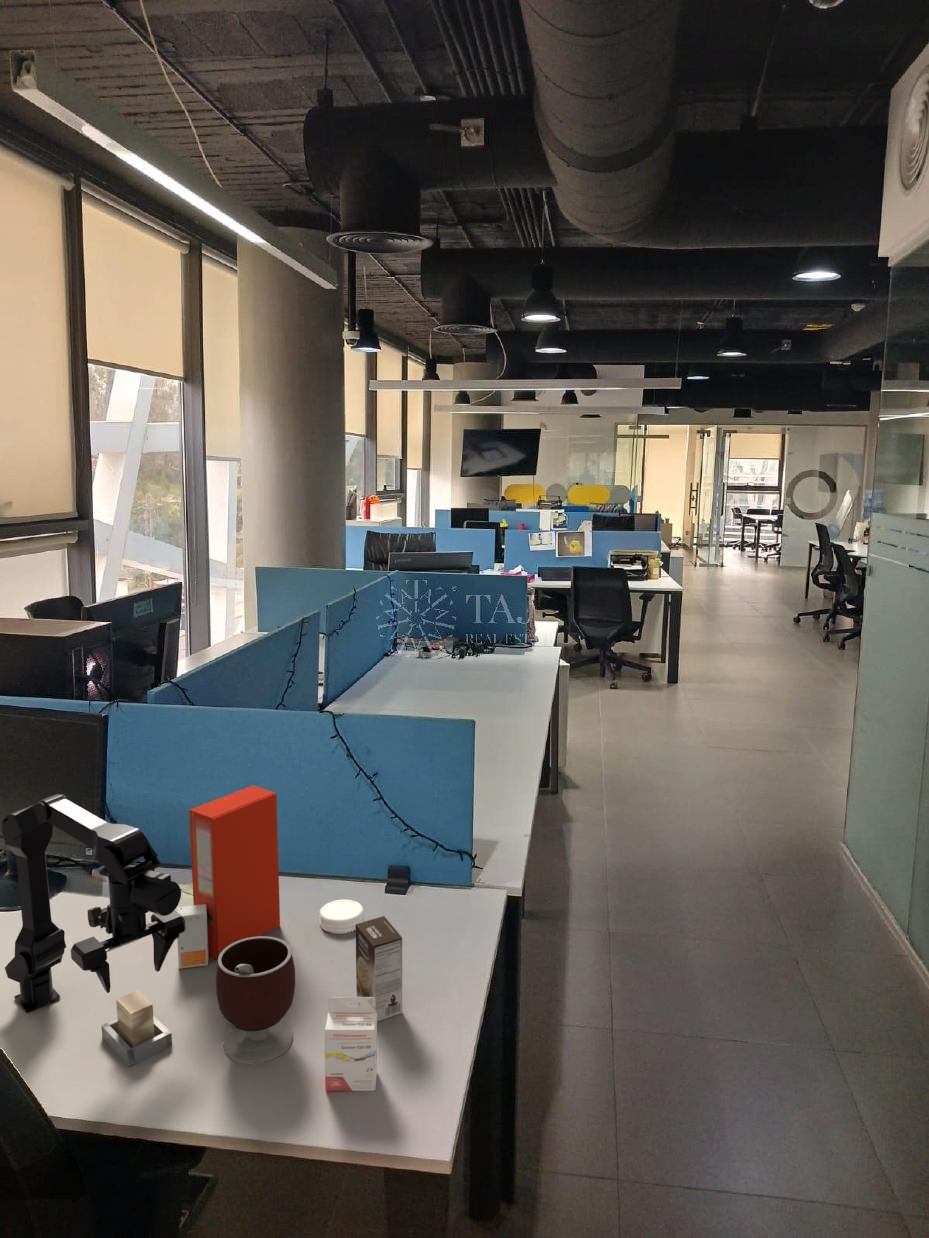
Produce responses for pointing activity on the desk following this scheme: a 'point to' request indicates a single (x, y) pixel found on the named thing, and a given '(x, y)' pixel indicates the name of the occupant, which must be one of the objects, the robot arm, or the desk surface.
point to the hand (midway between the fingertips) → (132, 980)
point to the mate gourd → (256, 997)
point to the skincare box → (193, 937)
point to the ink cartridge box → (351, 1045)
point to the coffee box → (379, 965)
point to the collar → (140, 1051)
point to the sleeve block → (135, 1018)
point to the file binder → (236, 865)
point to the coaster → (341, 916)
